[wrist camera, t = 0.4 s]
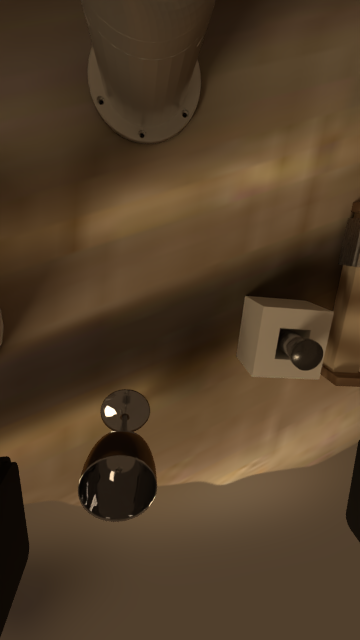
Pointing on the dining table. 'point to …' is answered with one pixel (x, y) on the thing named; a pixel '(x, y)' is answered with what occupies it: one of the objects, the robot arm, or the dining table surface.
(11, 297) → the dining table surface
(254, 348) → the housing
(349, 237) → the carriage
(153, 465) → the wine glass
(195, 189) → the dining table surface
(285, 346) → the plunger
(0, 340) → the cylinder
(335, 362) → the rail
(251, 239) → the dining table surface
